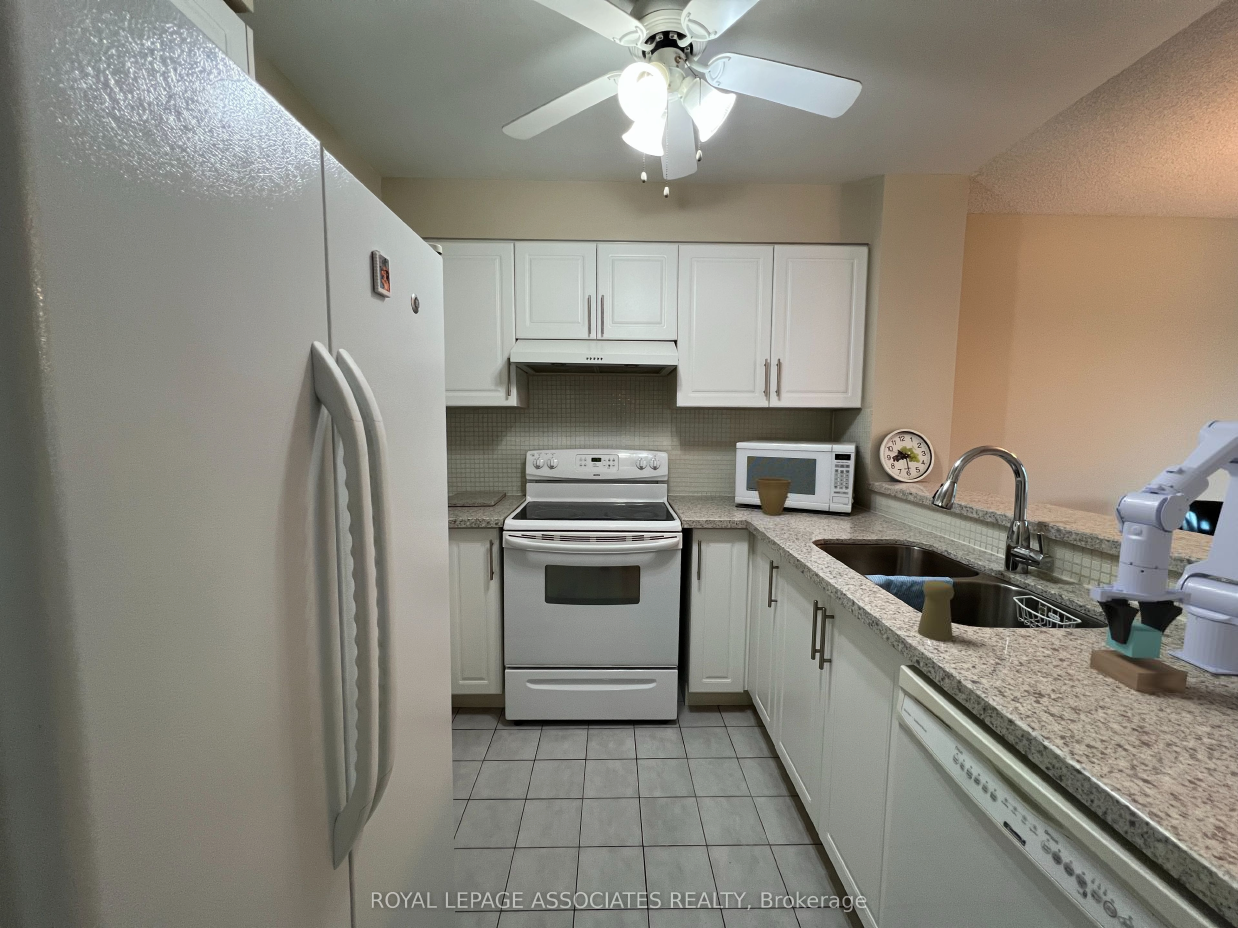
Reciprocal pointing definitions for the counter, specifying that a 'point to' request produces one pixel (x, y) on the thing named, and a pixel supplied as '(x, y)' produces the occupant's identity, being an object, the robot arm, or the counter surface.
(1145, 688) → the walnut block
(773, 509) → the plant pot
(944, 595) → the cork
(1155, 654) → the teal cube
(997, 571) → the counter surface
